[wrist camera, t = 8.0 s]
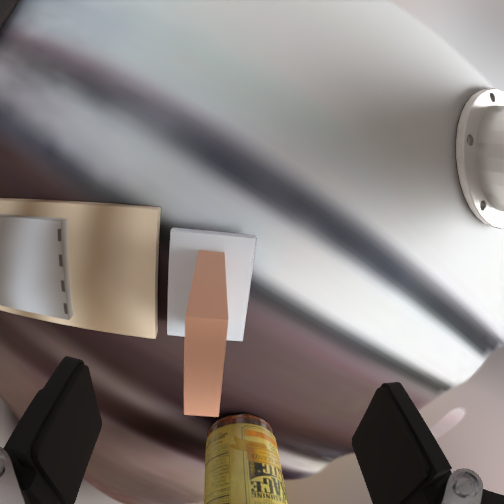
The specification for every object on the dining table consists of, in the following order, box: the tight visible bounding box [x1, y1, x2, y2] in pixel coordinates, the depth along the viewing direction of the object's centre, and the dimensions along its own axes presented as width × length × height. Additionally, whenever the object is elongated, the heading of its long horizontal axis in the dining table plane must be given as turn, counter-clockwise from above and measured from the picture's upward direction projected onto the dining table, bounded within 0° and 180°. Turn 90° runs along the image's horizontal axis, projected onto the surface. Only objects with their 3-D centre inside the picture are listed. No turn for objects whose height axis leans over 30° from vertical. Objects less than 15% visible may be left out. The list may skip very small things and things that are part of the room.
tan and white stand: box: [167, 228, 256, 417], centre depth 15 cm, size 5×7×9 cm
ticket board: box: [0, 198, 161, 339], centre depth 17 cm, size 20×9×4 cm, turn 83°
